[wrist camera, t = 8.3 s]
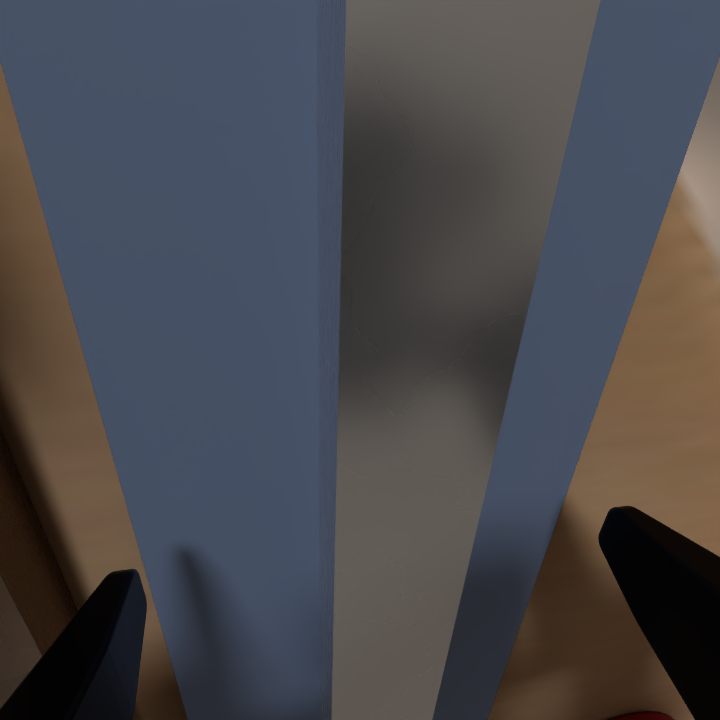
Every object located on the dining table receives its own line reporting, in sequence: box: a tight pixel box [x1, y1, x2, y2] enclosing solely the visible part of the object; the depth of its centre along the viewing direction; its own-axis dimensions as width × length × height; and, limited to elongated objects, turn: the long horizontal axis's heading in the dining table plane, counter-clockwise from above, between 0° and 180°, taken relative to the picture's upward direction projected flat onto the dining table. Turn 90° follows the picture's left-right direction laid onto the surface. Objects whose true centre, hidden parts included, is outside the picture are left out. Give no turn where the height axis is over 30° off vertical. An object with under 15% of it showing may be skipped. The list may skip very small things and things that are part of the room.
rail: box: [317, 0, 600, 720], centre depth 9 cm, size 27×2×2 cm, turn 178°
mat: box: [0, 0, 720, 720], centre depth 10 cm, size 30×10×1 cm, turn 178°
